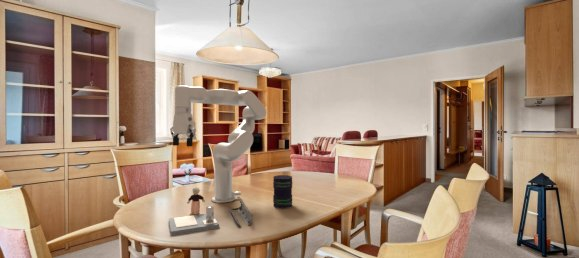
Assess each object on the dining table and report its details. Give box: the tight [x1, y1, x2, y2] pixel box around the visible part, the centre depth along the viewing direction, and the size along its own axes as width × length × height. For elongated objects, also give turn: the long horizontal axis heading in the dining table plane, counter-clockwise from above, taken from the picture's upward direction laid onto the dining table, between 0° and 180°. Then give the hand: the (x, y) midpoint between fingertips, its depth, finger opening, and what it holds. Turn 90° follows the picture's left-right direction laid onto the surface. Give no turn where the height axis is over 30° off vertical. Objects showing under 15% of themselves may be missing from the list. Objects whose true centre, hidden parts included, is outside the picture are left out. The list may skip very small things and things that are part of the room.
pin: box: [205, 205, 215, 223], centre depth 116 cm, size 3×3×6 cm
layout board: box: [168, 213, 220, 236], centre depth 117 cm, size 18×16×2 cm
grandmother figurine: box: [187, 186, 205, 216], centre depth 131 cm, size 8×4×13 cm, turn 117°
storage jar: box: [272, 174, 293, 210], centre depth 145 cm, size 10×10×15 cm
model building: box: [227, 196, 253, 226], centre depth 127 cm, size 7×7×25 cm
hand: (182, 145), depth 139 cm, fingers open, 9 cm apart
